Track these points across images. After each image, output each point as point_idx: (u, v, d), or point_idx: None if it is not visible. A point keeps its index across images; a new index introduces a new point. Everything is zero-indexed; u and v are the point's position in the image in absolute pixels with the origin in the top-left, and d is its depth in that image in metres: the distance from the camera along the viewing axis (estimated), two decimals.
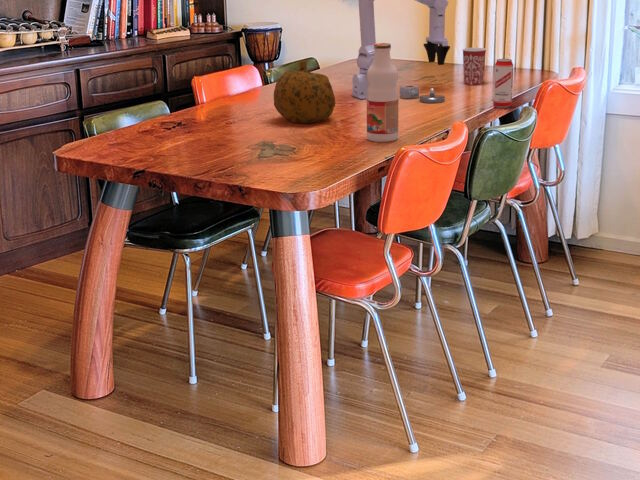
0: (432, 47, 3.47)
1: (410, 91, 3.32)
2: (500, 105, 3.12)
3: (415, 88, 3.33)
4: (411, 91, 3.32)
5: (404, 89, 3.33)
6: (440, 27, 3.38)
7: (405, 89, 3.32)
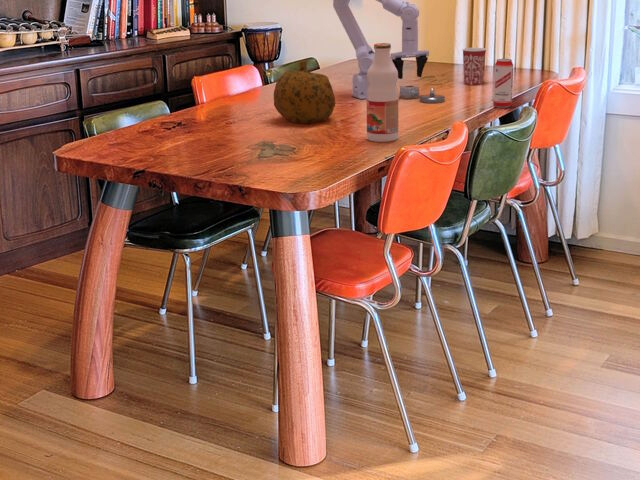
0: (419, 61, 3.33)
1: (410, 91, 3.32)
2: (500, 105, 3.12)
3: (415, 88, 3.33)
4: (411, 91, 3.32)
5: (404, 89, 3.33)
6: (402, 40, 3.28)
7: (405, 89, 3.32)
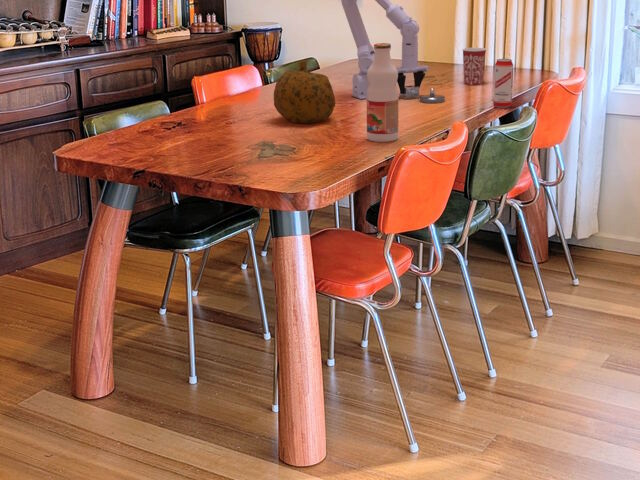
0: (416, 77, 3.34)
1: (410, 91, 3.32)
2: (500, 105, 3.12)
3: (415, 88, 3.33)
4: (411, 91, 3.32)
5: None
6: (402, 55, 3.30)
7: (405, 89, 3.32)
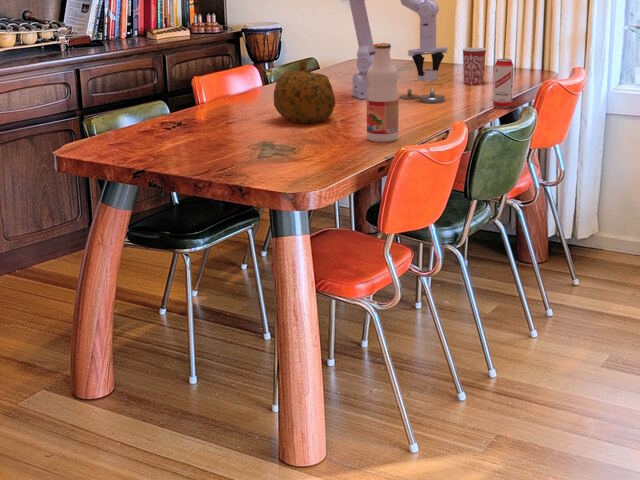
0: (435, 58, 3.26)
1: (428, 75, 3.24)
2: (500, 105, 3.12)
3: (433, 71, 3.25)
4: (429, 75, 3.24)
5: None
6: (420, 36, 3.21)
7: (423, 72, 3.24)
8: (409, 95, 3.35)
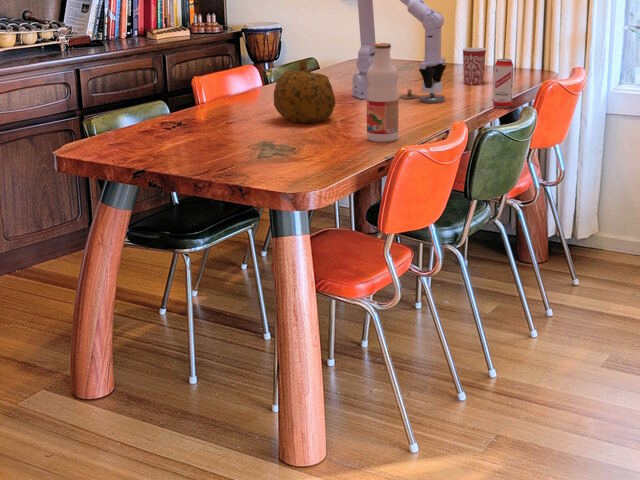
0: (436, 70, 3.27)
1: (437, 86, 3.24)
2: (500, 105, 3.12)
3: (440, 83, 3.26)
4: (437, 86, 3.25)
5: None
6: (428, 49, 3.20)
7: (433, 84, 3.23)
8: (409, 95, 3.35)
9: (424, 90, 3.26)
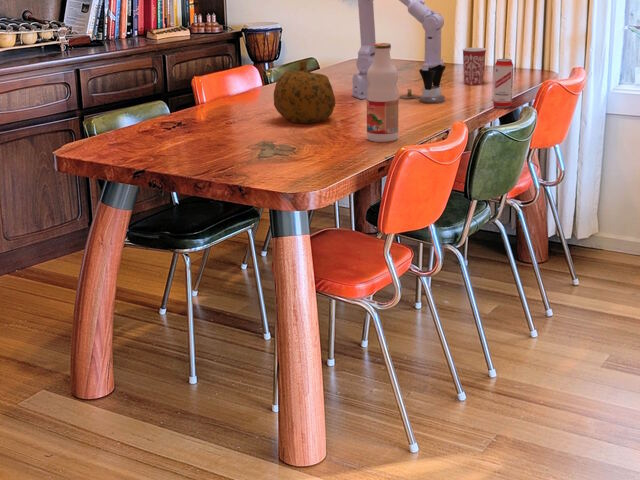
0: (436, 70, 3.28)
1: (437, 91, 3.25)
2: (500, 105, 3.12)
3: (439, 88, 3.27)
4: (438, 91, 3.26)
5: (432, 90, 3.24)
6: (429, 50, 3.20)
7: (434, 90, 3.24)
8: (409, 95, 3.35)
9: (425, 96, 3.26)
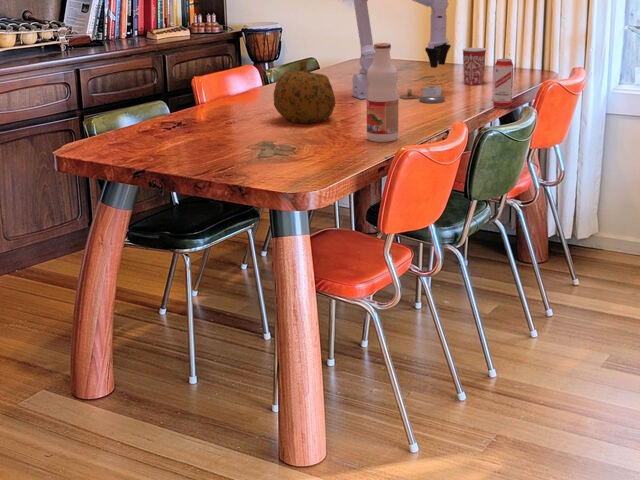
0: (442, 49, 3.38)
1: (437, 91, 3.25)
2: (500, 105, 3.12)
3: (439, 88, 3.27)
4: (438, 91, 3.26)
5: (432, 90, 3.24)
6: (435, 29, 3.30)
7: (434, 90, 3.24)
8: (409, 95, 3.35)
9: (425, 96, 3.26)
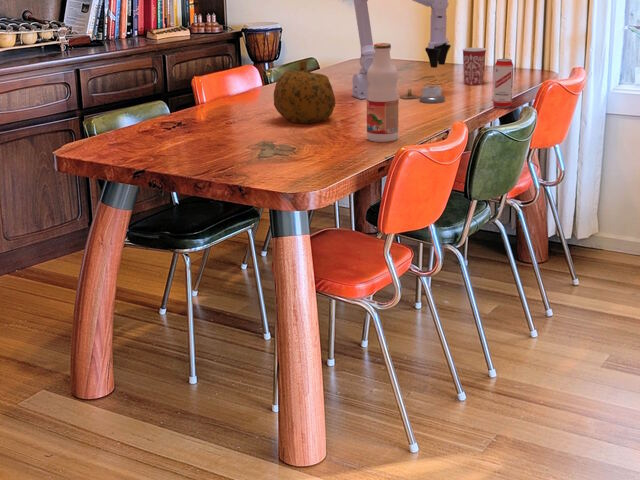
0: (442, 49, 3.38)
1: (437, 91, 3.25)
2: (500, 105, 3.12)
3: (439, 88, 3.27)
4: (438, 91, 3.26)
5: (432, 90, 3.24)
6: (435, 29, 3.30)
7: (434, 90, 3.24)
8: (409, 95, 3.35)
9: (425, 96, 3.26)
